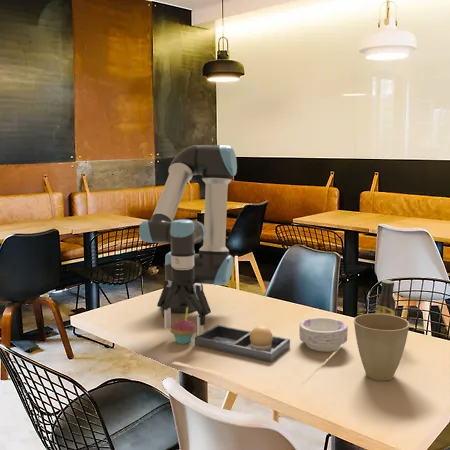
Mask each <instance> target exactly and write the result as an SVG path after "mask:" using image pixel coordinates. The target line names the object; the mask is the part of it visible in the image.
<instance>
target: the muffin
mask: <svg viewBox="0 0 450 450" xmlns="http://www.w3.org/2000/svg"><path fill="white" fill-rule="evenodd" d="M273 336H274V335H273V332H272V331H271V329H269V328H268V327H267V326H264V325H258V326H256V327H253V329H251V333H250V342H251V348H253V349H257V350H262V351H267V352H270V351H271V343H272V340H273Z"/></svg>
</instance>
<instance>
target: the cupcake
mask: <svg viewBox="0 0 450 450" xmlns="http://www.w3.org/2000/svg"><path fill="white" fill-rule="evenodd" d="M188 313H189V312H188V306H187V308H186V313H185V317H184V319H179V320H177V321H174V322H173V323H171V327H170V328H169V329H170V333H171V334H173V337H174V338H175V342H176V343H177V344H188V343H191V340H192V337H193V335H194V333H195V332H197V325H196V324H195V323H194V322H193V321H191V320H188Z"/></svg>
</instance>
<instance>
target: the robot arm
mask: <svg viewBox="0 0 450 450" xmlns="http://www.w3.org/2000/svg"><path fill="white" fill-rule="evenodd" d="M237 161H238V160H237V156H236V153H235V150H234V148H233V147H232V146H231V145H224V144H200V145H199V144H194V145H190V146H188V147H186V148H184V149H183V150H181V151H180V152H179V153H178V154H177V155H175V157H174V158H173V159H172V160H171V163H170V165H169V167H168V176H167V179H166V182H165V184H164V185H163V186H164V187H163V189H162V192H161V194H160V196H159V199H158V201H157V204H156V206H155V209H154V211H153V212H152V213H153V214H152V216H151V218H150V220H149V219H147V220H143V221H142V222H141V223H140V225H139V230H138V233H139V238H140V240H141V241H143V242H145V243H151V244H170V251H169V252H168V253H166V254H165V257H164V258H165V259H164V261H165V262H164V271H165V272H164V274H165V275H164V276H165V279H164V281H163V287H162V288H163V289H162V290H161V293H160V296H159V299H158V301H157V305H156V306H157V307H158V308H161V310H162V319H164V330H168V329H171V325H172V313H173V314H186V308H187V306H188V313H192V312H195V311H196V312H197V314H198V315H197V316H196V334H197V336H200V335H202V334H203V333H204V332H205V330H204V328H205V327H204V326H205V325H206V323H207V321H206V316H207V315H208V314H210V313H212V311H211V308H210V305H209V302H208V300H207V296H206V295H205V292H204V285H214V286H218V285H219V286H224V285H226V284H227V283H229V281H230V280H231V276H232V274H233V268H234V257H233V255H231V254H230V250H229V249H228V248H227V247H226V236H227V232H226V231H227V211H228V210H227V209H228V208H227V207H228V188H229V187H228V186H229V185H230V184H231V182H232V180H233V179H232V178H233V177H234V176H236V174H238V173H237V171H238V170H237V169H238V164H237V163H238V162H237ZM193 176H201V180H202V181H203V182H204V184H205V190H204V192H205V193H204V194H205V195H204V216H203V217H204V218H203V219H204V222H203V223H202V222H200V221H198V220H191V219H175V216H176V213H177V212H178V211H177V210H178V208H179V205H180V203H181V201H182V197H183V195H184V192H185V190H186V187H187V184H188V182H190V181H192V179H193ZM202 241H203V245H202V246H201V247H200V248H199V249H198V250H199V251H198V253H196V251H195V245H196V244H199V243H201V242H202Z"/></svg>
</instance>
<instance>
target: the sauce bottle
mask: <svg viewBox="0 0 450 450" xmlns="http://www.w3.org/2000/svg"><path fill="white" fill-rule="evenodd" d="M380 285H381V291H380V295H379V297H378V299H377V301H376V305H375V314H388V315H393V316H396V305H397V304H396V300H395V298H394V287H395V281H393V280H389V279H383V280H381V284H380Z"/></svg>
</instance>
